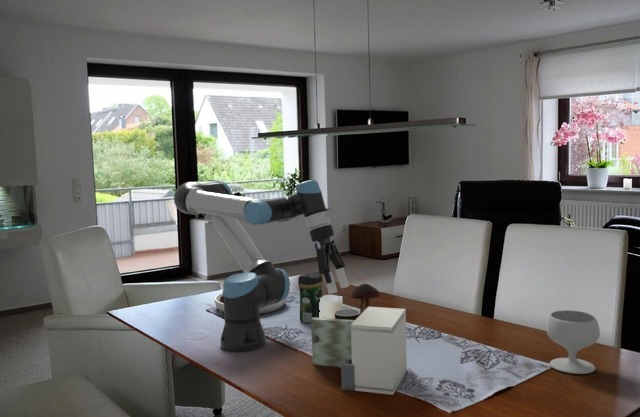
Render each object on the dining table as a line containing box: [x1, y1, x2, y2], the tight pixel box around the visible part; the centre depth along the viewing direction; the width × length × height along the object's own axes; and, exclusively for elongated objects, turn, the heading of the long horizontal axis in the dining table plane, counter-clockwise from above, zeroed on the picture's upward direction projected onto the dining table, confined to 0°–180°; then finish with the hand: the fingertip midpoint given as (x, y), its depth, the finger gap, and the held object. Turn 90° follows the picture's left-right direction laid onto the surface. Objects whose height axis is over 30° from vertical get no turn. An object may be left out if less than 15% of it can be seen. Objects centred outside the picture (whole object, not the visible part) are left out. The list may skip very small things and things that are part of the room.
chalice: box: [545, 309, 601, 375], centre depth 164 cm, size 14×14×15 cm
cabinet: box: [351, 306, 408, 396], centre depth 160 cm, size 11×18×18 cm, turn 160°
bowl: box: [214, 292, 288, 315], centre depth 241 cm, size 30×30×8 cm
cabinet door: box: [310, 317, 355, 368], centre depth 171 cm, size 14×3×14 cm, turn 70°
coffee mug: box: [334, 308, 360, 320], centre depth 194 cm, size 12×9×10 cm
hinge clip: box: [340, 358, 356, 392], centre depth 156 cm, size 4×6×9 cm
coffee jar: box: [297, 271, 324, 325], centre depth 217 cm, size 10×8×19 cm
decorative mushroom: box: [350, 283, 381, 315], centre depth 211 cm, size 11×11×15 cm
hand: (339, 290), depth 184 cm, fingers open, 13 cm apart
